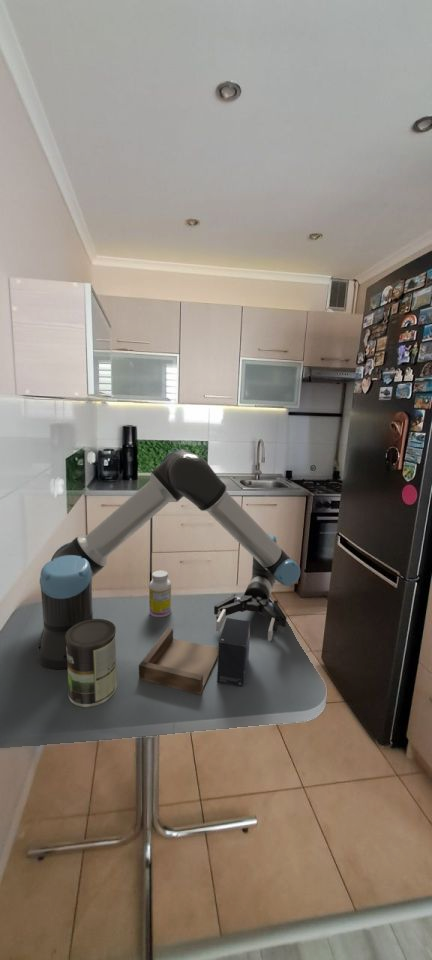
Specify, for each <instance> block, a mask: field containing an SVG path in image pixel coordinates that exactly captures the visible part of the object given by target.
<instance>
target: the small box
mask: <svg viewBox="0 0 432 960" xmlns="http://www.w3.org/2000/svg"><path fill="white" fill-rule="evenodd" d="M223 624H224V625H223V626H222V630H221V633H220V637H219V639H218V643H217V644H218V645H217V646H218V647H217V648H218V658H217V674H216V683H219V684H225V685H231V686H235V687H236V686H237V687H244V682H245V677H246V673H247V669H248V668H247V667H248V662H249V656H250V655H249V654H250V641H251V640H250V639H251V638H250V636H251V635H250V634H251V621H249V620H244V619H243V620H242V619H238V618H237V619H236V618H230V617H226V618H225V620H224V623H223Z"/></svg>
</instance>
